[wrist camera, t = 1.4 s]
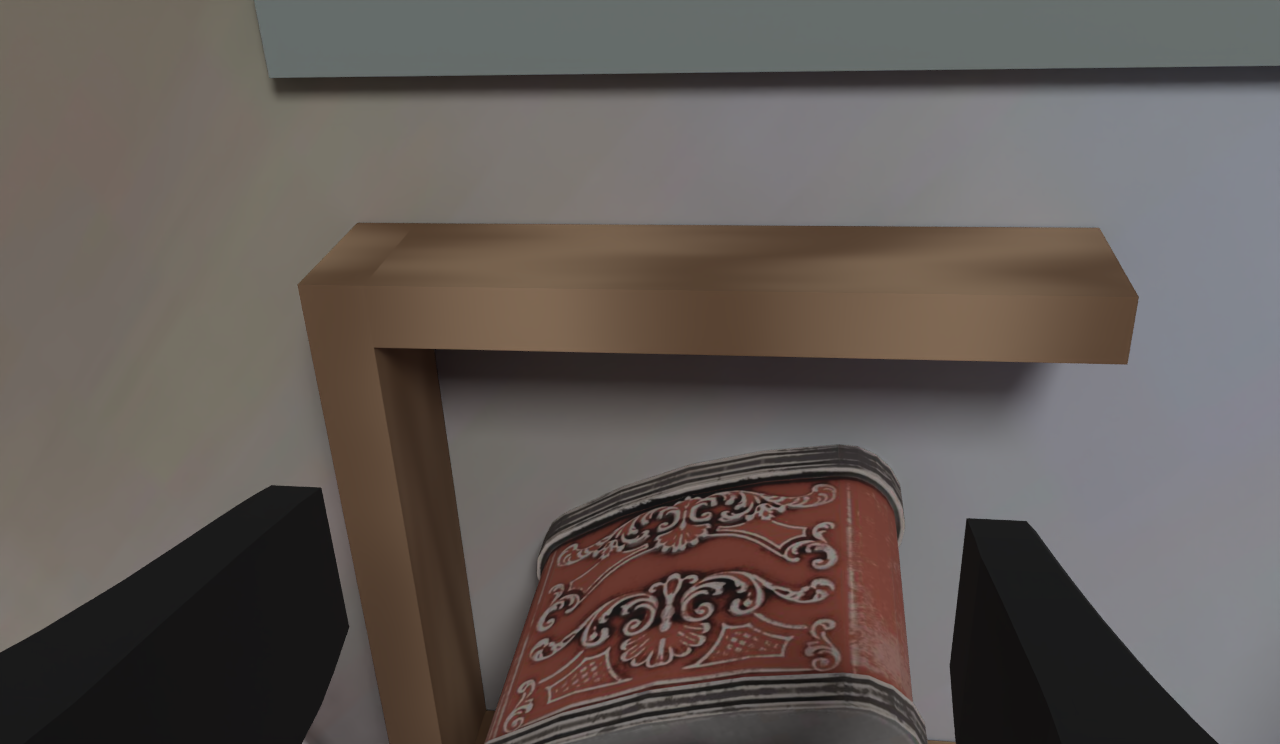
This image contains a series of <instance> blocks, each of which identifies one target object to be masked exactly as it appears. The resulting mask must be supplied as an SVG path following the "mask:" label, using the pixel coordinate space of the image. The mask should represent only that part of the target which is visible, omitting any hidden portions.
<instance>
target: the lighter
mask: <svg viewBox="0 0 1280 744" xmlns="http://www.w3.org/2000/svg"><path fill="white" fill-rule="evenodd" d="M904 529H905V522H904V512H903V503H902V496H901V489H900V484H899V482H898V480H897V478H896V477H895V475H894V473H893V471H892V469H891V468H890V467H889V466H888V465H887V464H886V463H885V462H884V461H883V460H881V459H880V458H879V457H878V456H877V455H876V454H874V453H871V452H869V451H867V450H865V449H862V448H860V447H858V446H849V445H827V446H815V447H803V448H791V449H779V450H767V451H760V452H755V453H749V454H744V455H739V456H733V457H728V458H723V459H717V460H712V461H707V462H701V463H696V464H691V465H687V466H684V467H681V468H678V469H675V470H672V471H669V472H666V473H663V474H660V475H657V476H654V477H651V478H647V479H644V480H641V481H638V482H635V483H632V484H629V485H626V486H623V487H621V488H618V489H616V490H614V491H612V492H610V493H607V494H605V495H603V496H601V497H599V498H596V499H594V500H592V501H590V502H588V503H586V504H583V505H581V506H579V507H577V508H575V509H572V510H570V511H568V512H566V513H564V514H563V515H562V516H560V517H559V518H558V519H556V520H555V521H554V522H553V523H552V525H551V527H550V529H549V531H548V532H547V534H546V537H545V540H544V542H543V545H542V548H541V551H540V554H539V557H538V563H537V577H538V580H539V583H538V586H537V589H536V592H535V595H534V598H533V601H532V604H531V607H530V610H529V613H528V616H527V619H526V622H525V625H524V628H523V631H522V634H521V637H520V640H519V643H518V646H517V648H516V651H515V654H514V657H513V660H512V663H511V666H510V669H509V672H508V675H507V678H506V681H505V684H504V687H503V690H502V693H501V696H500V699H499V702H498V705H497V708H496V711H495V714H494V717H493V720H492V723H491V725H490V728H489V731H488V734H487V737H486V740H485V743H484V744H928V741H927V735H926V728H925V722H924V721H923V719H922V717H921V716H920V714H919V712H918V710H917V709H916V707H915V705H914V704H913V700H912V689H911V678H910V668H909V657H908V646H907V636H906V625H905V614H904V604H903V593H902V582H901V572H900V561H899V551H898V547H899V546H900V545H901V541H902V537H903V533H904Z"/></svg>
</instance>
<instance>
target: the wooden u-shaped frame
mask: <svg viewBox="0 0 1280 744" xmlns="http://www.w3.org/2000/svg"><path fill="white" fill-rule="evenodd" d="M298 290H299V295H300V300H301V305H302V310H303V315H304V320H305V324H306V329H307V334H308V339H309V344H310V349H311V354H312V359H313V364H314V369H315V374H316V379H317V384H318V389H319V394H320V399H321V404H322V409H323V414H324V419H325V424H326V429H327V434H328V439H329V444H330V449H331V454H332V459H333V464H334V469H335V474H336V479H337V484H338V489H339V494H340V499H341V504H342V509H343V514H344V519H345V524H346V529H347V534H348V539H349V544H350V549H351V554H352V559H353V564H354V569H355V574H356V579H357V584H358V589H359V594H360V599H361V604H362V609H363V614H364V619H365V624H366V629H367V634H368V639H369V644H370V649H371V654H372V659H373V664H374V669H375V674H376V679H377V684H378V689H379V694H380V699H381V704H382V709H383V714H384V719H385V724H386V729H387V734H388V739H389V743H390V744H484V743H485V740H486V737H487V734H488V731H489V728H490V725H491V723H492V720H493V717H494V714H495V711H488V710H486V706H485V699H484V692H483V685H482V678H481V671H480V664H479V657H478V650H477V643H476V636H475V630H474V623H473V616H472V609H471V602H470V595H469V588H468V581H467V574H466V567H465V560H464V553H463V547H462V540H461V533H460V526H459V519H458V512H457V505H456V498H455V491H454V484H453V477H452V470H451V463H450V457H449V450H448V443H447V436H446V429H445V422H444V415H443V408H442V401H441V394H440V387H439V380H438V373H437V367H436V360H435V353H434V349H464V350H509V351H553V352H598V353H642V354H687V355H731V356H776V357H820V358H865V359H909V360H954V361H998V362H1043V363H1087V364H1127V363H1128V357H1129V351H1130V345H1131V339H1132V334H1133V328H1134V322H1135V316H1136V310H1137V304H1138V298H1139V297H1138V295H1137V293H1136V291H1135V290H1134V288H1133V286H1132V284H1131V283H1130V281H1129V279H1128V277H1127V276H1126V274H1125V272H1124V270H1123V269H1122V267H1121V265H1120V263H1119V262H1118V260H1117V258H1116V256H1115V255H1114V253H1113V251H1112V249H1111V248H1110V246H1109V244H1108V242H1107V241H1106V239H1105V237H1104V235H1103V234H1102V232H1101V230H1100V228H1033V227H882V226H732V225H581V224H431V223H357V224H356V225H355V226H354V227H353V228H352V229H351V230H350V231H349V232H348V233H347V234H346V235H345V236H344V237H343V238H342V239H341V240H340V241H339V242H338V243H337V245H336V246H335V247H334V248H333V249H332V250H331V251H330V252H329V253H328V254H327V255H326V256H325V257H324V258H323V259H322V260H321V261H320V262H319V263H318V264H317V265H316V266H315V267H314V268H313V269H312V270H311V271H310V272H309V273H308V275H307V276H306V277H305V278H304V279H303V280H302V281H301V282H300V283H299V284H298ZM927 741H928V744H956V742H946V741H932V740H927Z"/></svg>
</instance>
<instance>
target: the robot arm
mask: <svg viewBox="0 0 1280 744" xmlns="http://www.w3.org/2000/svg"><path fill="white" fill-rule="evenodd" d="M348 629H349V624H348V619H347V614H346V609H345V604H344V599H343V594H342V589H341V584H340V579H339V574H338V569H337V564H336V559H335V554H334V549H333V544H332V539H331V534H330V529H329V524H328V519H327V514H326V509H325V504H324V499H323V494H322V489H321V488H317V487H296V486H275V485H271V486H269V487H268V488H266V489H264V490H262V491H260V492H259V493H257V494H255V495H253V496H252V497H250V498H248V499H247V500H245V501H244V502H242V503H240V504H239V505H237V506H236V507H234V508H233V509H231V510H230V511H228V512H226V513H225V514H223V515H222V516H220V517H219V518H217V519H216V520H214V521H213V522H211V523H210V524H208V525H207V526H205V527H204V528H202V529H201V530H199V531H198V532H196V533H195V534H193V535H192V536H190V537H189V538H187V539H186V540H184V541H183V542H181V543H180V544H178V545H177V546H175V547H174V548H172V549H171V550H169V551H167V552H166V553H164V554H163V555H161V556H160V557H158V558H157V559H155V560H154V561H152V562H151V563H149V564H148V565H146V566H145V567H143V568H142V569H140V570H139V571H137V572H135V573H134V574H132V575H131V576H129V577H128V578H126V579H125V580H123V581H122V582H120V583H118V584H117V585H115V586H113V587H112V588H110V589H108V590H107V591H105V592H103V593H102V594H100V595H99V596H97V597H95V598H94V599H92V600H90V601H89V602H87V603H85V604H84V605H82V606H80V607H79V608H77V609H75V610H74V611H72V612H70V613H69V614H67V615H65V616H64V617H62V618H60V619H59V620H57V621H56V622H54V623H52V624H51V625H49V626H47V627H46V628H44V629H42V630H41V631H39V632H37V633H35V634H33V635H32V636H30V637H28V638H26V639H24V640H23V641H21V642H19V643H17V644H15V645H13V646H12V647H10V648H8V649H6V650H4V651H2V652H0V744H302V742H303V740H304V738H305V736H306V734H307V732H308V730H309V728H310V726H311V724H312V723H313V721H314V719H315V717H316V715H317V713H318V711H319V709H320V707H321V705H322V702H323V699H324V697H325V694H326V691H327V689H328V686H329V683H330V681H331V678H332V676H333V673H334V670H335V667H336V664H337V662H338V659H339V656H340V653H341V650H342V647H343V644H344V641H345V638H346V635H347V632H348ZM950 676H951V689H952V703H953V716H954V727H955V739H956V744H1218V743H1217V742H1216V741H1215V740H1214V739H1213V738H1212V737H1211V736H1210V735H1209V734H1208V733H1207V732H1206V731H1205V730H1204V729H1203V728H1202V727H1201V726H1200V725H1199V724H1198V723H1196V722H1195V721H1194V720H1193V719H1192V718H1191V717H1190V715H1189V714H1188V713H1187V712H1186V711H1185V710H1184V709H1183V708H1182V707H1181V706H1180V705H1179V704H1178V703H1177V702H1176V701H1175V700H1174V699H1173V698H1172V697H1171V696H1170V695H1169V694H1168V693H1167V692H1166V691H1165V689H1164V688H1163V687H1162V686H1161V685H1160V684H1159V683H1158V682H1157V681H1156V680H1155V679H1154V678H1153V676H1152V675H1151V674H1150V673H1149V672H1148V671H1147V670H1146V669H1145V668H1144V667H1143V665H1142V664H1141V663H1140V662H1139V661H1138V660H1137V659H1136V658H1135V656H1134V655H1133V654H1132V653H1131V652H1130V650H1129V649H1128V648H1127V647H1126V646H1125V645H1124V643H1123V642H1122V641H1121V640H1120V639H1119V638H1118V636H1117V635H1116V634H1115V633H1114V632H1113V631H1112V629H1111V628H1110V627H1109V626H1108V625H1107V624H1106V622H1105V621H1104V620H1103V619H1102V618H1101V616H1100V615H1099V614H1098V613H1097V611H1096V610H1095V609H1094V608H1093V606H1092V605H1091V604H1090V603H1089V601H1088V600H1087V599H1086V598H1085V596H1084V595H1083V594H1082V592H1081V591H1080V590H1079V589H1078V587H1077V586H1076V585H1075V583H1074V582H1073V581H1072V580H1071V578H1070V577H1069V576H1068V574H1067V573H1066V572H1065V570H1064V569H1063V568H1062V566H1061V565H1060V564H1059V562H1058V561H1057V560H1056V558H1055V557H1054V556H1053V554H1052V553H1051V552H1050V550H1049V549H1048V547H1047V546H1046V545H1045V543H1044V542H1043V541H1042V539H1041V538H1040V536H1039V535H1038V534H1037V532H1036V531H1035V530H1034V529H1033V528H1032V527H1031V526H1030V525H1029V524H1028V522H1027V521H1012V520H991V519H970V518H967V520H966V529H965V538H964V546H963V555H962V564H961V573H960V581H959V590H958V599H957V607H956V616H955V625H954V634H953V642H952V651H951V660H950Z"/></svg>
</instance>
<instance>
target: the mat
mask: <svg viewBox="0 0 1280 744" xmlns="http://www.w3.org/2000/svg"><path fill="white" fill-rule="evenodd" d="M254 2H255V8H256V13H257V18H258V23H259V28H260V33H261V38H262V43H263V49H264V54H265V59H266V64H267V69H268V74H269V78H297V77H381V76H464V75H547V74H631V73H714V72H797V71H880V70H964V69H1047V68H1130V67H1214V66H1280V0H254Z"/></svg>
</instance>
